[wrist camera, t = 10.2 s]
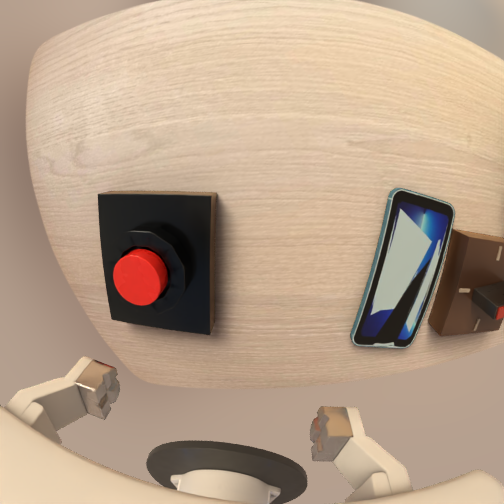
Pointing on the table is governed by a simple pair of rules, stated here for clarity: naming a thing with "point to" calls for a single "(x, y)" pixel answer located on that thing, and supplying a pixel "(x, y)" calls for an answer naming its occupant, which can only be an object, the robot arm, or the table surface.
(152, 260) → the light button
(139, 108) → the table surface
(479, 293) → the dial knob
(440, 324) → the dial panel
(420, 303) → the smartphone
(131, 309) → the switch box
